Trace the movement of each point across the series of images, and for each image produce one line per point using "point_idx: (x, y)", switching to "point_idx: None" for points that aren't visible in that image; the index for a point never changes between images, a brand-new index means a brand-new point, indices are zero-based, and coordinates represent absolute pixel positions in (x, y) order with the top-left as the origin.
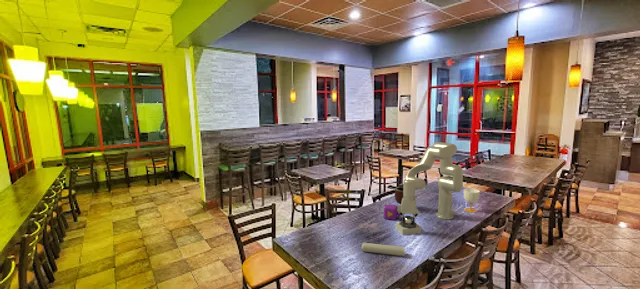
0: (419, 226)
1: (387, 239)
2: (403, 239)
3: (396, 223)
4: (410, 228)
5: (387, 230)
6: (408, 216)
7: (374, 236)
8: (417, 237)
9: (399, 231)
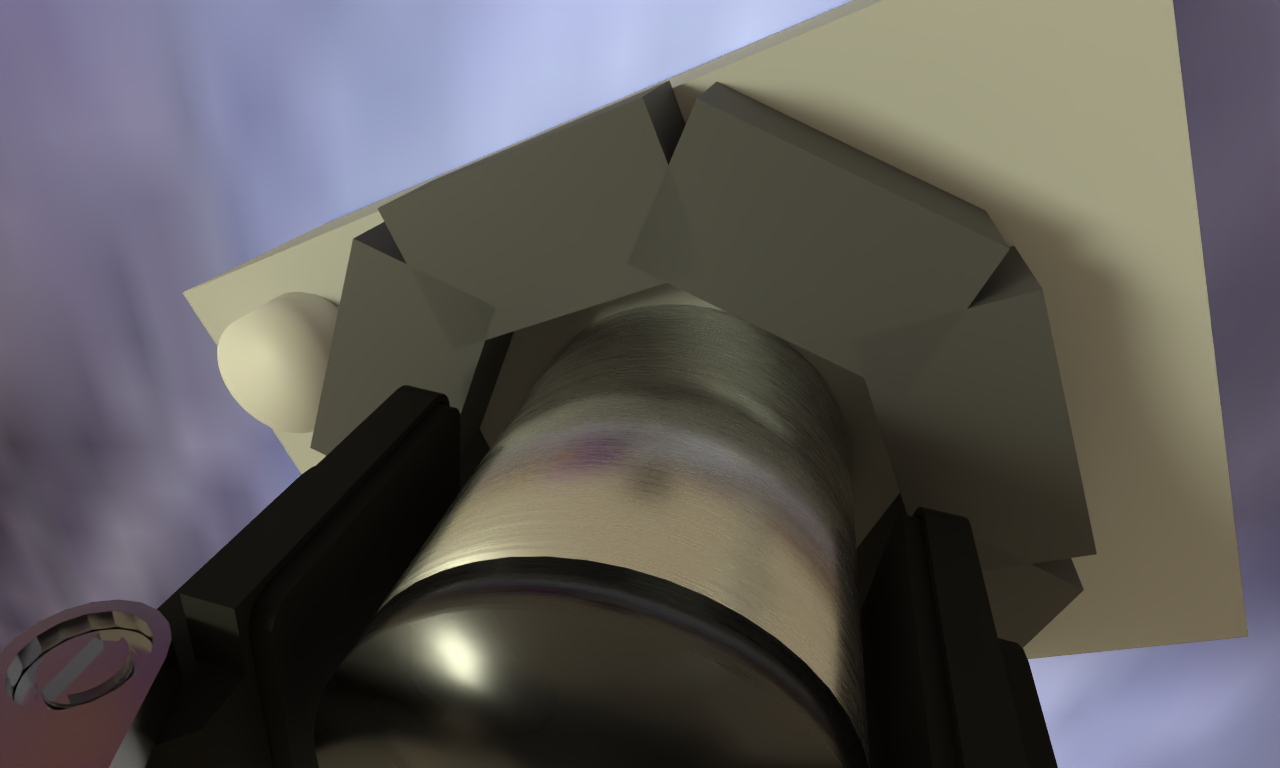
0: (1181, 586)
1: None
2: None
3: (218, 311)
4: None
5: (146, 355)
6: (574, 758)
7: (9, 605)
8: None
9: None
